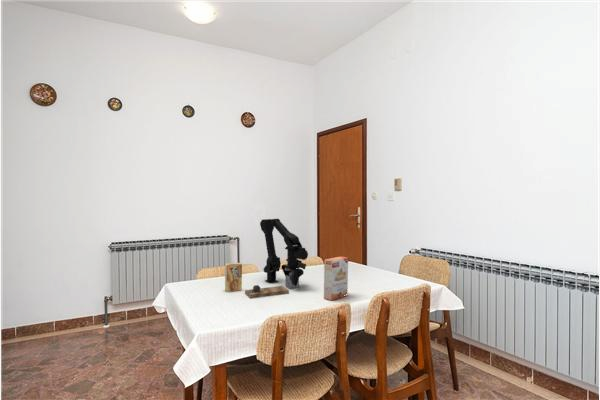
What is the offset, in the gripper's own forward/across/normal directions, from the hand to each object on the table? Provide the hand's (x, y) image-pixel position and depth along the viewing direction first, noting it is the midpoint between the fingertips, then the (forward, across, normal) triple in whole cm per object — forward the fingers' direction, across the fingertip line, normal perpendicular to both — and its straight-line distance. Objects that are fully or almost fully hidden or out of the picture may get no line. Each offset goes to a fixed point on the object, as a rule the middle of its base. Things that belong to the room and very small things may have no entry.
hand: (292, 284), depth 210 cm
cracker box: (+2, -28, -13) cm, 31 cm away
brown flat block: (+2, -6, +18) cm, 19 cm away
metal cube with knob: (+2, 0, 0) cm, 2 cm away
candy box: (+2, +8, +33) cm, 34 cm away
